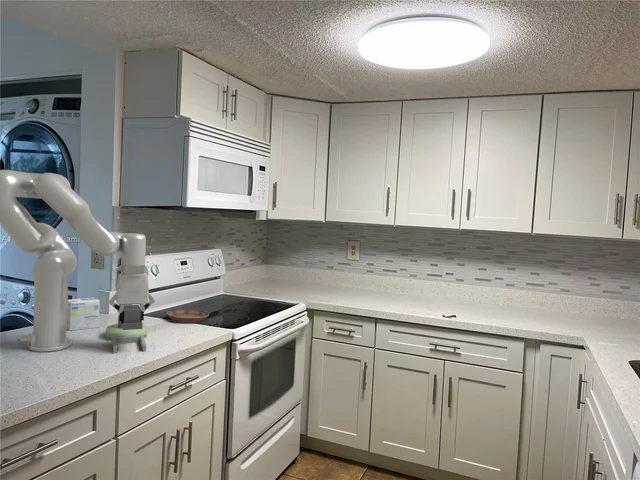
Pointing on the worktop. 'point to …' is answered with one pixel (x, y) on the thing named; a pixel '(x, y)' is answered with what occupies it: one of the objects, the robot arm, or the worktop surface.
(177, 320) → the plant saucer
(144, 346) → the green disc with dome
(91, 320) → the light bulb box
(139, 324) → the grey sliding block
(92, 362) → the worktop surface
